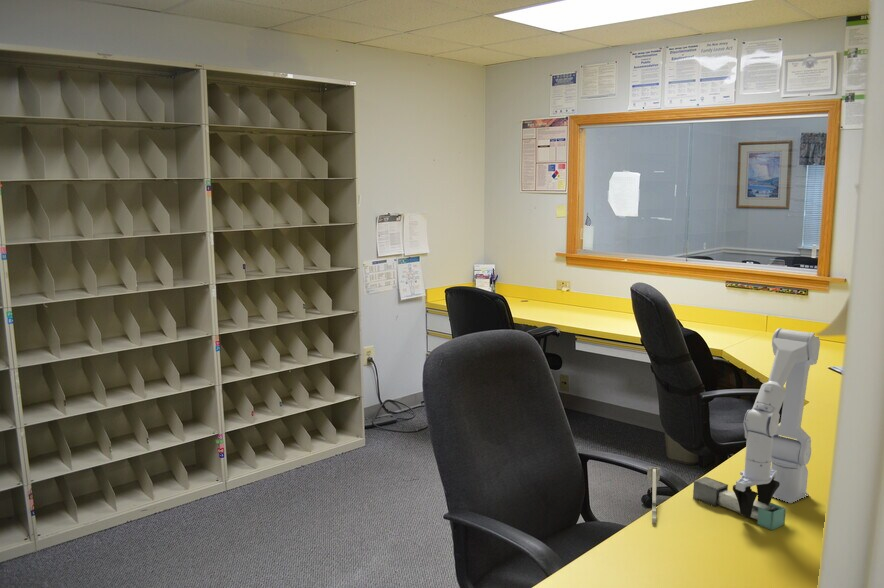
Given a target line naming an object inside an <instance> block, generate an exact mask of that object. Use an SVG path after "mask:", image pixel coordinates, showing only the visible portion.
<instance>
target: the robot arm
mask: <svg viewBox="0 0 884 588" xmlns="http://www.w3.org/2000/svg"><path fill="white" fill-rule="evenodd" d="M815 333H816V332H809V331H808V332H807V331H801V330H793V329H792V330H791V329H787V328H786V329H785V328H781V327H778V328H777V329H776V330H774V332H773V335H772V338H771V347H772V352H773V355H774V360H773V362H772V366H771V370H770V374H769V377H768V380H767V382H764V383H762V384H761V385H760V388H759V391H758V394H757V395H756V398H755V401H754V404H753V406H752V408H751V409H747V411H746V412H745V415H744V418H743V419H744V420H743V424H742V426H743V430H744V438H745V439H746V443H745V444H746V445H745V446H746V447H745V457H744V458H745V459H744V470H741V471H739V475H741V477H740V478H739V479H738V480H735V484H734V485H732V492H734V493H735V495H736V497H737V500H738V503H739V508H740V513H739V514H740V515H741V516H742V517H745V518H748V519H749V518H751V517H750V516H751V513H752V508H753V503H754V501H755V500H756V499H757V501H759V502H762V503H764V504H767V505H770V503H772V499H773V497H774V499H776V498H777V499H776V500H779V499H780V500H779V501H782V500H783V501H782V502H784V501H785V503H787V502H788V504H793V502H794V503H796V502H798V501H800V500H799V499H801V498H803V499H805V498H806V497H805V496H807V495H809V494H810V493H809V492H807V489H808V476H809V470H808V468H807V465H808V464H809V462H810V460H811V456H812V447H811V446H812V437H811V436H810V435H809V434H808V433H807V432H806V431H805V430H804V429H803V428H802V426H801V425H802V420H803V414H804V407H805V406H804V405H805V399H806V390H807V384H808V378H809V371H810V368H811V366H813V365H816V364H817V362H818V358H819V355H820V346H821V340H820V337H815V336H814V335H815ZM784 387H785V388H784ZM781 408H782V409H781ZM780 410H781V414H780ZM780 416H781V417H780ZM753 486H755V487H756V491H753V490H752V487H753ZM805 494H806V495H805ZM804 497H805V498H804ZM797 500H798V501H797ZM801 500H802V499H801ZM795 501H796V502H795Z"/></svg>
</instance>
